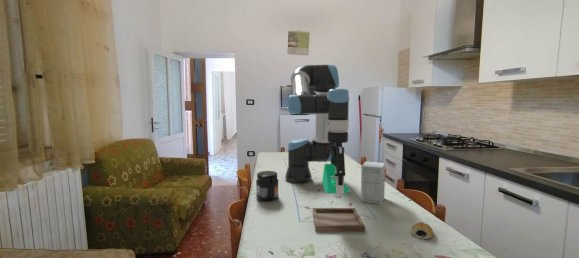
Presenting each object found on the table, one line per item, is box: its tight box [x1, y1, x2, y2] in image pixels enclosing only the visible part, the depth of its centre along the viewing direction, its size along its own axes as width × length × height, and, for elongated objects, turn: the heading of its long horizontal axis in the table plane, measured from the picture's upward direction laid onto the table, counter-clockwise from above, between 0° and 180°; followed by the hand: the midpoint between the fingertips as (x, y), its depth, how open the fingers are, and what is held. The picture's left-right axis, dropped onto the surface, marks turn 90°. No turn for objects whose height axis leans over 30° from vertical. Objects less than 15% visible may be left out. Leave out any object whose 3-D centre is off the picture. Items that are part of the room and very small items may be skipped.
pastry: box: [410, 221, 434, 240], centre depth 99 cm, size 9×7×4 cm
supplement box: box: [360, 161, 386, 205], centre depth 130 cm, size 10×9×17 cm
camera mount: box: [321, 163, 350, 194], centre depth 106 cm, size 12×8×10 cm, turn 3°
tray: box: [312, 207, 366, 233], centre depth 108 cm, size 16×17×2 cm
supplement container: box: [255, 170, 279, 202], centre depth 133 cm, size 10×10×12 cm
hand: (337, 187), depth 107 cm, fingers closed on camera mount, 12 cm apart
